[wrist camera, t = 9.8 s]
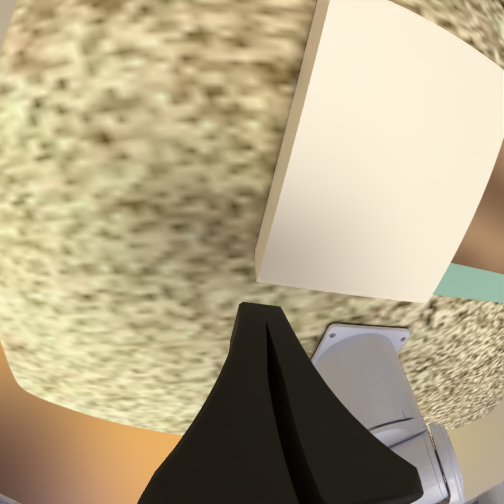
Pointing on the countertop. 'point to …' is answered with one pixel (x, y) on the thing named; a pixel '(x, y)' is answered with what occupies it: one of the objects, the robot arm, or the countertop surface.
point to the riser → (380, 155)
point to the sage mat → (471, 284)
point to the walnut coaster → (486, 226)
